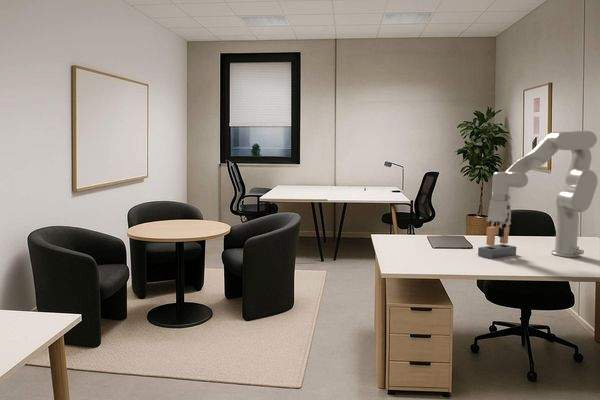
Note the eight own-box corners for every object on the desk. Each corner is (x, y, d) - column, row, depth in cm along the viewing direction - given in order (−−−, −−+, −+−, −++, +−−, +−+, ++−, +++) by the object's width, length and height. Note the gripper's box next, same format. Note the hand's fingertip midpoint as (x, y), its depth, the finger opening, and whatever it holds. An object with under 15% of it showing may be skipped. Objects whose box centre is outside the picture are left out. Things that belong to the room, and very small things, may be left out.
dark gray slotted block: (516, 254, 273) (516, 246, 272) (491, 258, 263) (492, 250, 262) (501, 251, 279) (502, 243, 279) (477, 255, 270) (478, 247, 269)
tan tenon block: (508, 243, 273) (509, 226, 272) (491, 245, 266) (492, 227, 265) (503, 242, 275) (504, 225, 274) (485, 244, 268) (486, 227, 267)
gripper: (519, 199, 263) (517, 238, 265) (490, 196, 277) (488, 233, 279) (509, 200, 259) (507, 239, 261) (480, 196, 273) (478, 234, 275)
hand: (497, 235), depth 270 cm, fingers closed on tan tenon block, 3 cm apart
